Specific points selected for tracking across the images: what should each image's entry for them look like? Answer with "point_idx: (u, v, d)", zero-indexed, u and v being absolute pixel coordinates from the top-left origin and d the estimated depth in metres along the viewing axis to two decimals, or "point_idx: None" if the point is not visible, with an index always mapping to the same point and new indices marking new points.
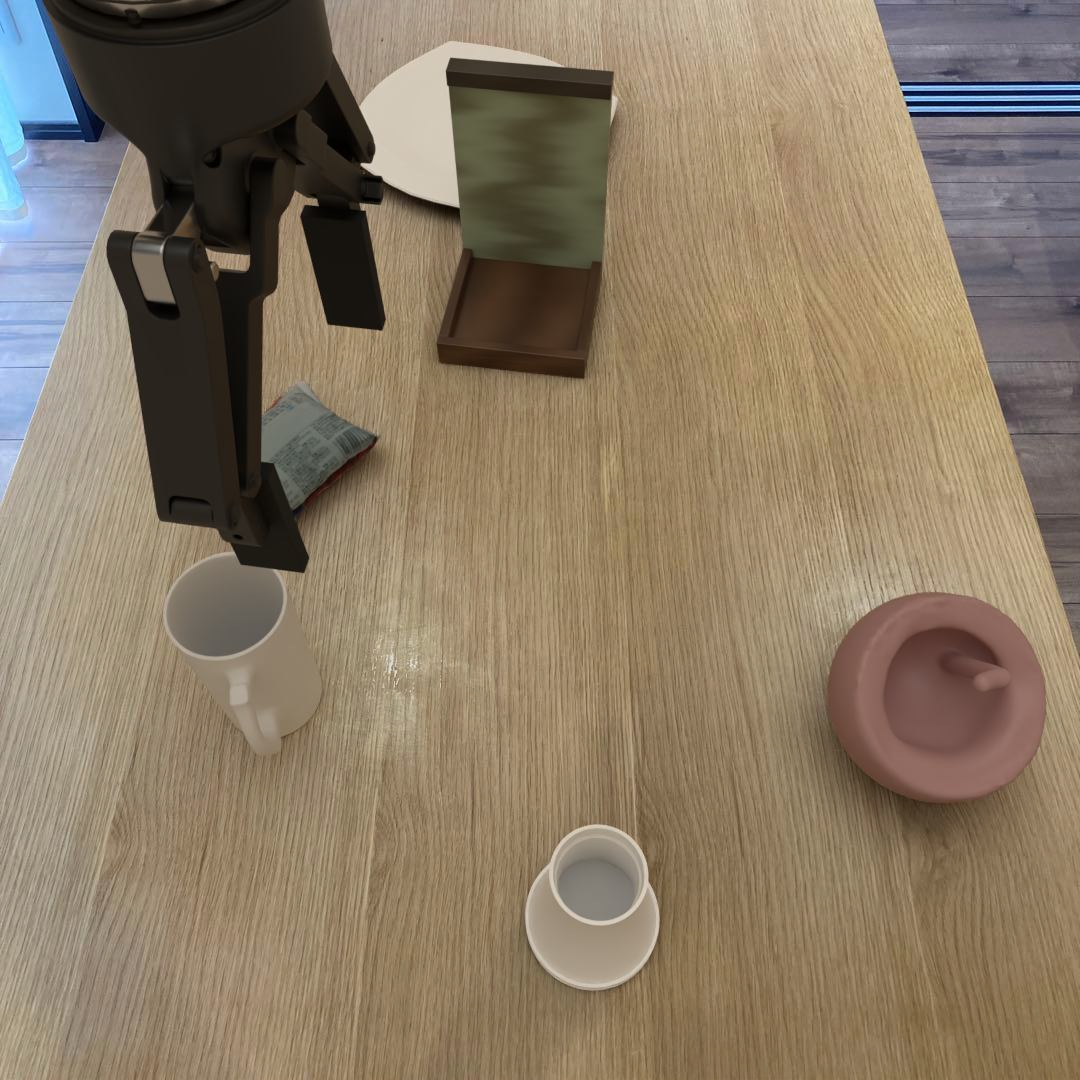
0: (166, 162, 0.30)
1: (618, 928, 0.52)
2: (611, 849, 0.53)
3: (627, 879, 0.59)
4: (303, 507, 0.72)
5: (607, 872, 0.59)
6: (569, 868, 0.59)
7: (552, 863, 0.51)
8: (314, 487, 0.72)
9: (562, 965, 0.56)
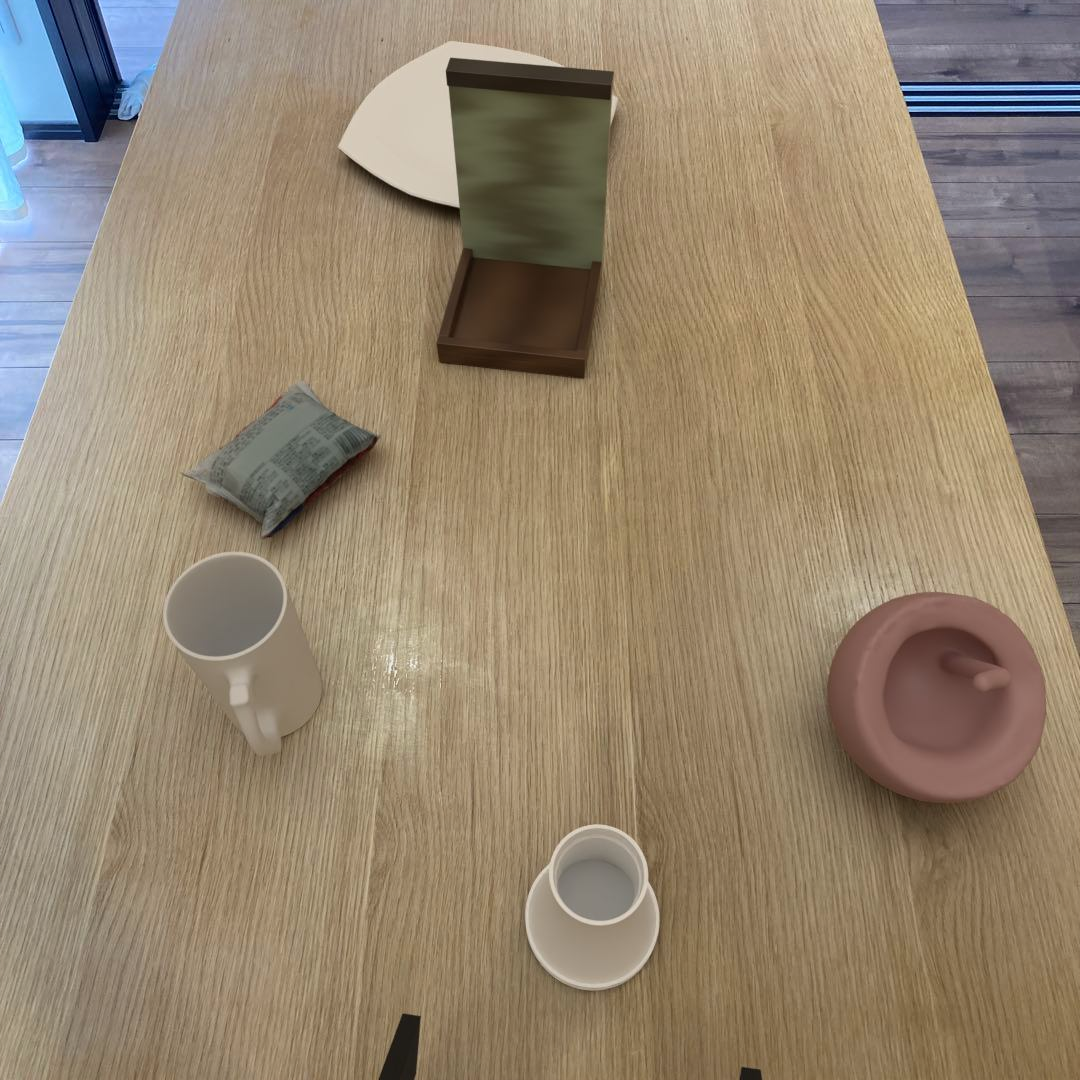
0: None
1: (618, 928, 0.52)
2: (611, 849, 0.53)
3: (627, 879, 0.59)
4: (303, 507, 0.72)
5: (607, 872, 0.59)
6: (569, 868, 0.59)
7: (552, 863, 0.51)
8: (314, 487, 0.72)
9: (562, 965, 0.56)
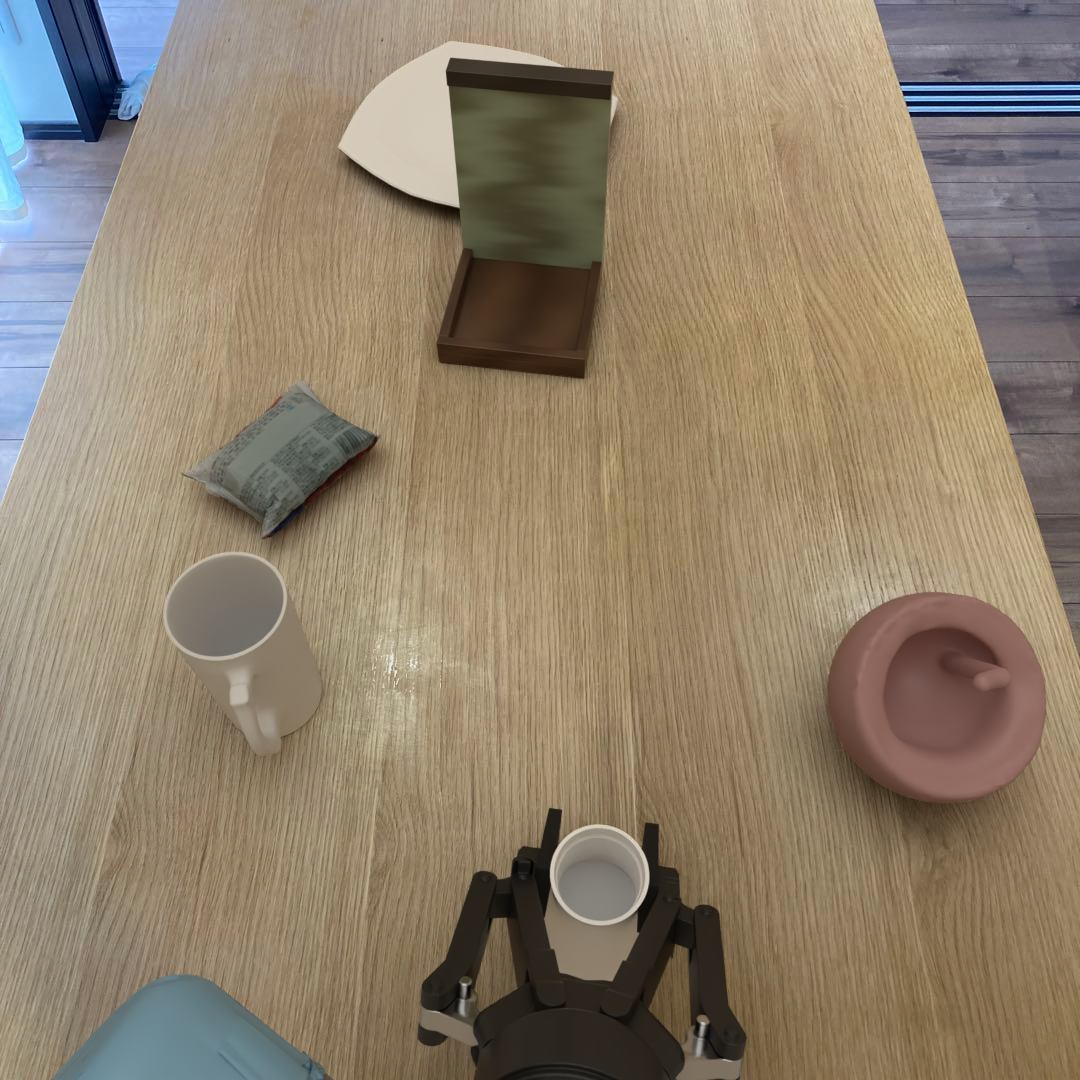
0: None
1: (619, 928, 0.52)
2: (612, 850, 0.53)
3: (628, 879, 0.59)
4: (303, 507, 0.72)
5: (608, 872, 0.59)
6: (570, 868, 0.59)
7: (553, 863, 0.51)
8: (314, 487, 0.72)
9: (563, 965, 0.56)
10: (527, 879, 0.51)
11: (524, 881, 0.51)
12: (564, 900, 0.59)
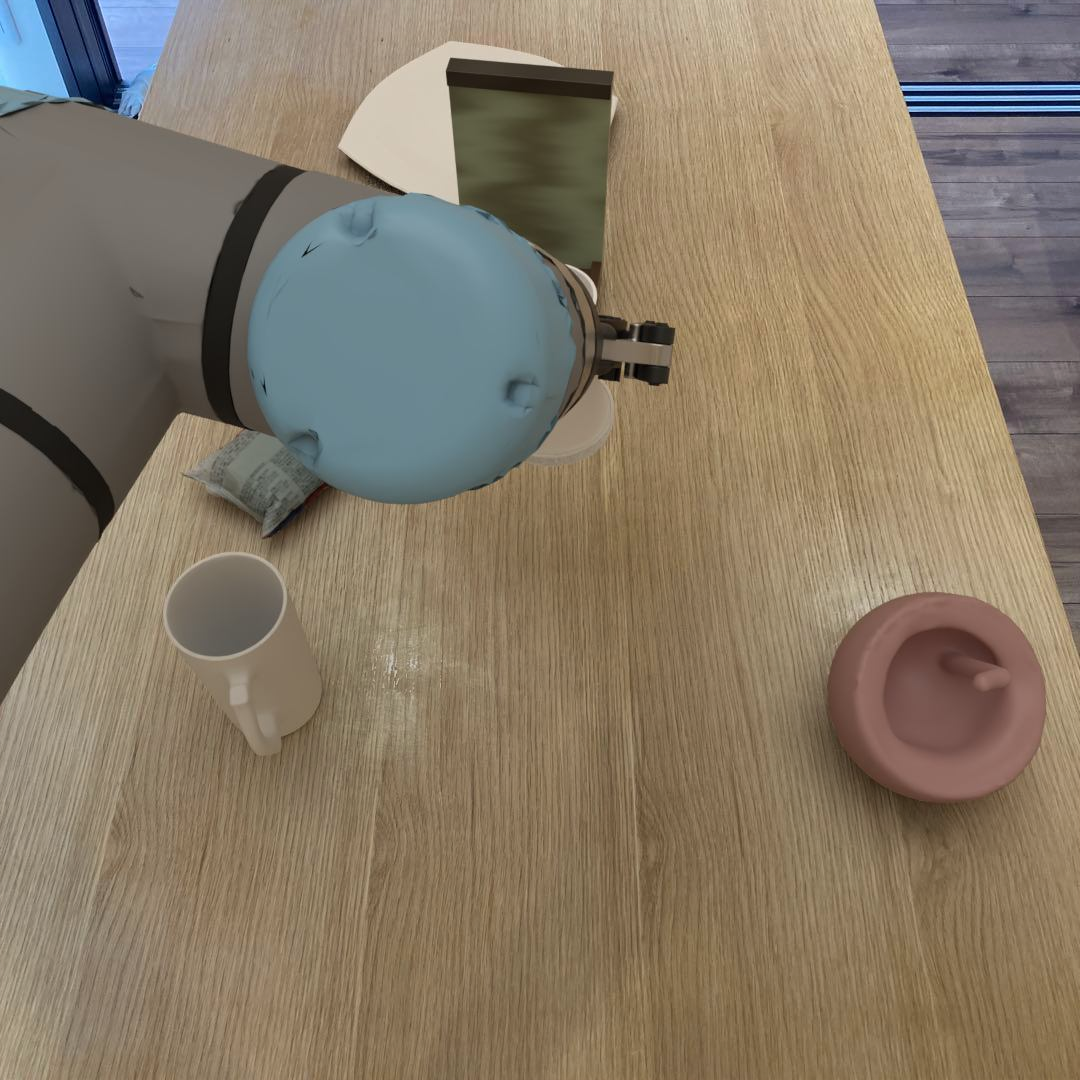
0: None
1: None
2: None
3: None
4: (303, 507, 0.72)
5: None
6: None
7: None
8: (314, 487, 0.72)
9: None
10: None
11: None
12: None
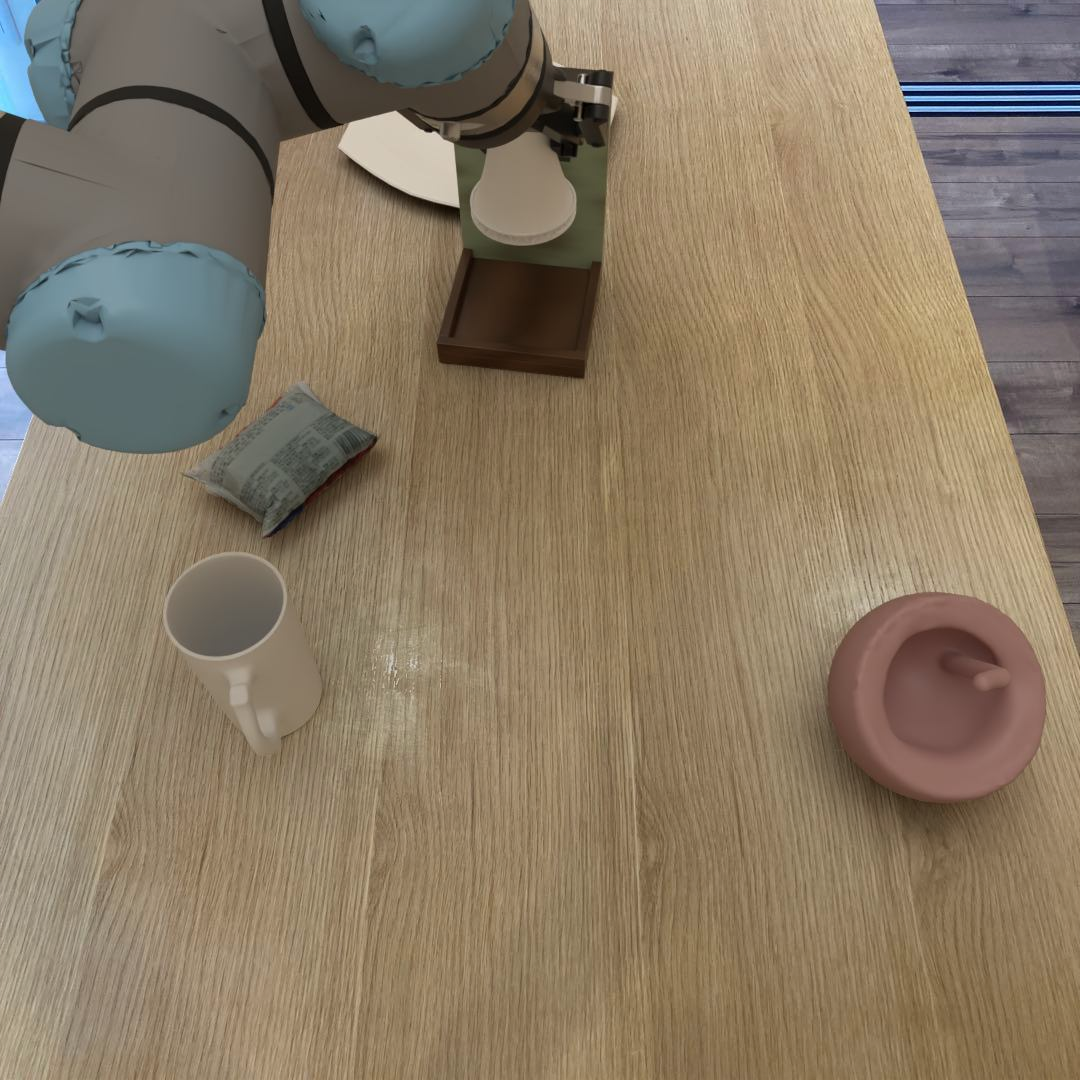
0: None
1: (536, 145, 0.67)
2: None
3: None
4: (303, 507, 0.72)
5: None
6: None
7: None
8: (314, 487, 0.72)
9: (497, 217, 0.71)
10: None
11: None
12: None
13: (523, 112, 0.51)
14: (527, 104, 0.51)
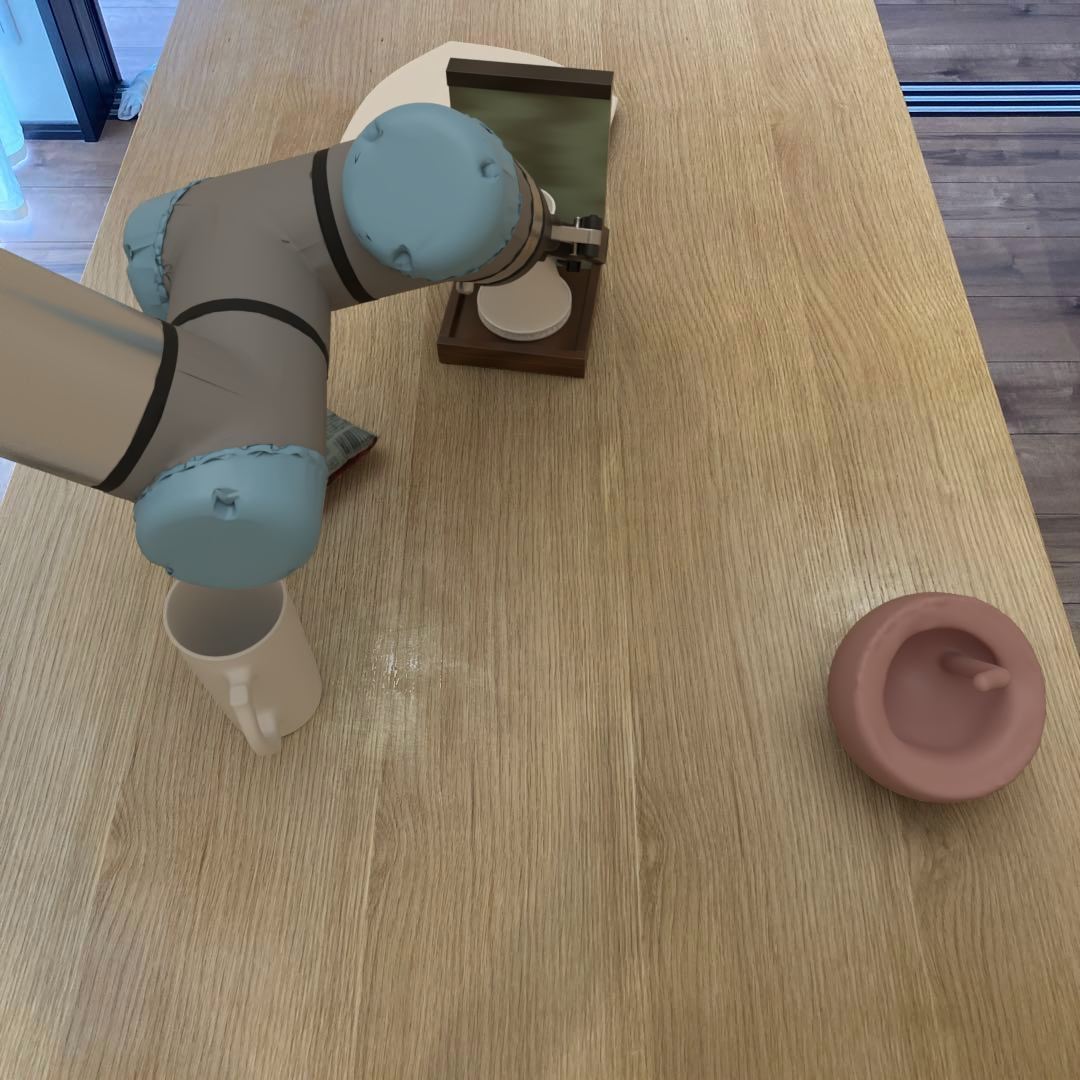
0: None
1: None
2: None
3: None
4: None
5: None
6: None
7: None
8: None
9: (501, 317, 0.80)
10: None
11: None
12: None
13: (526, 262, 0.61)
14: (529, 256, 0.61)
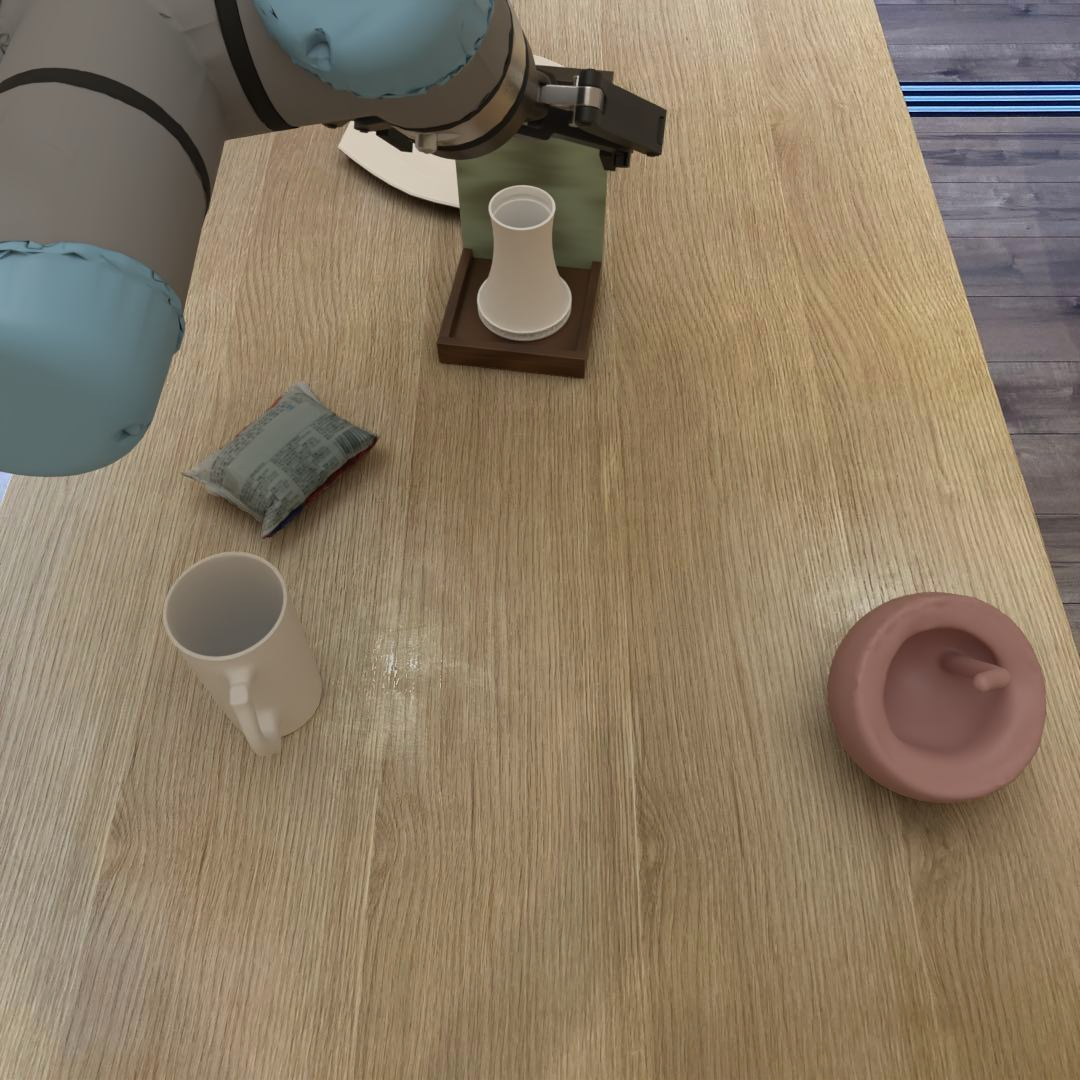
0: None
1: (536, 259, 0.76)
2: (533, 216, 0.78)
3: None
4: (303, 507, 0.72)
5: None
6: None
7: (491, 202, 0.75)
8: (314, 487, 0.72)
9: (501, 317, 0.80)
10: None
11: None
12: None
13: (505, 121, 0.48)
14: (509, 112, 0.48)
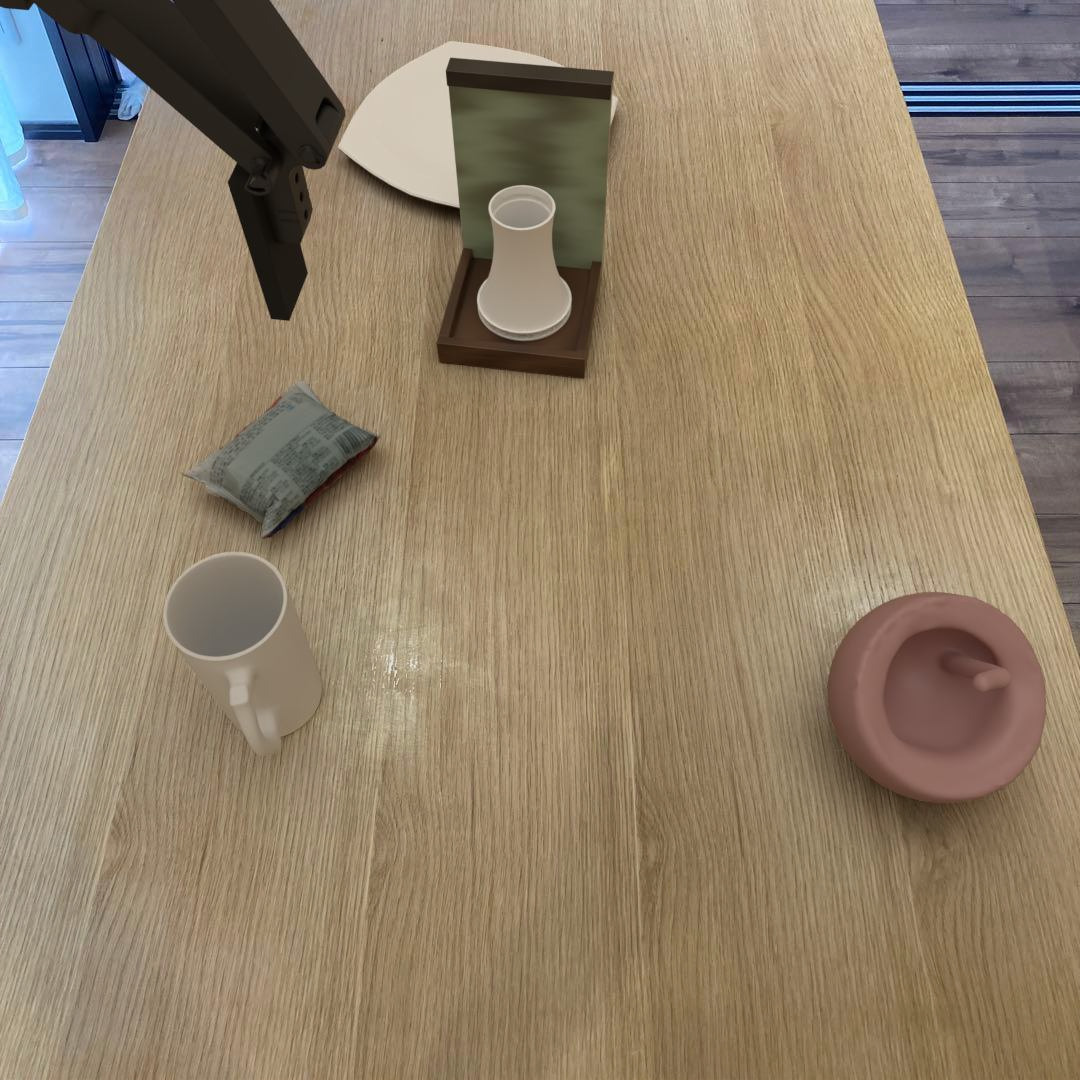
0: None
1: (536, 259, 0.76)
2: (533, 216, 0.78)
3: None
4: (303, 507, 0.72)
5: None
6: None
7: (491, 202, 0.75)
8: (314, 487, 0.72)
9: (501, 317, 0.80)
10: None
11: None
12: None
13: None
14: None
